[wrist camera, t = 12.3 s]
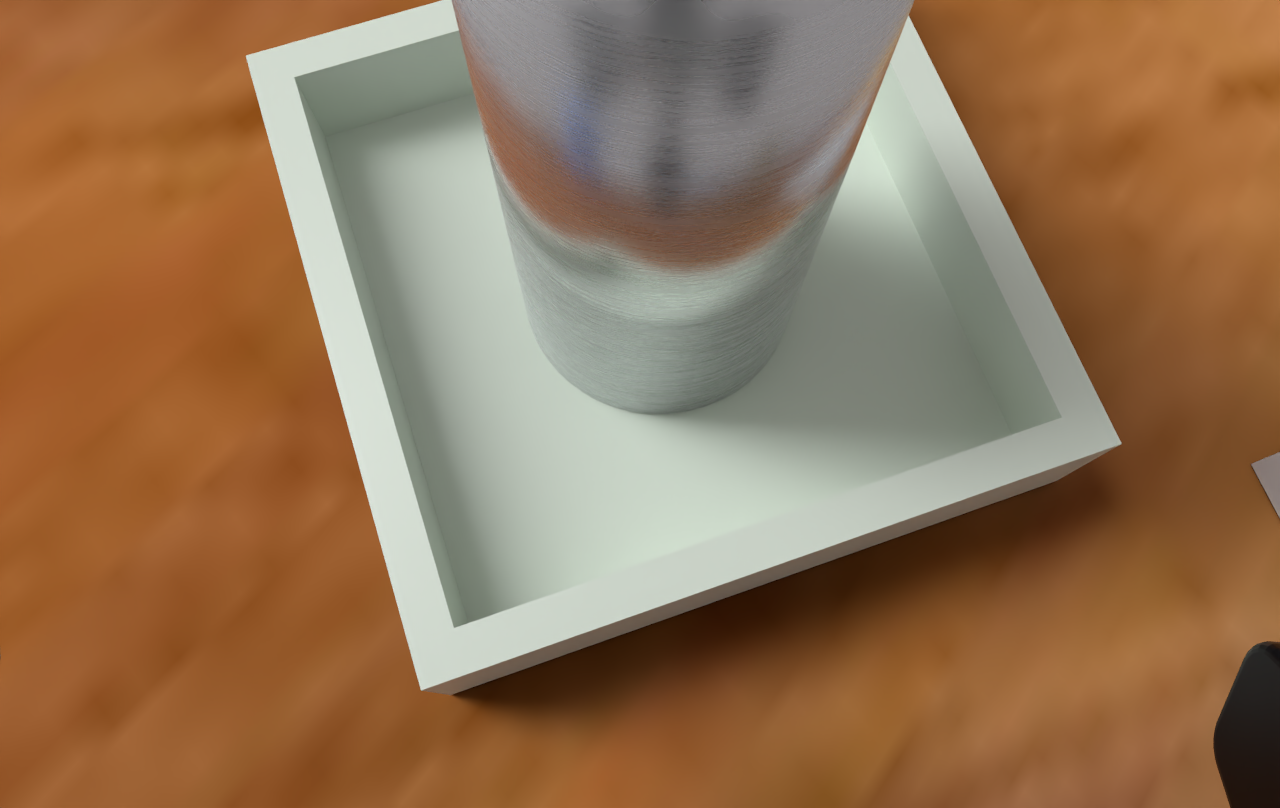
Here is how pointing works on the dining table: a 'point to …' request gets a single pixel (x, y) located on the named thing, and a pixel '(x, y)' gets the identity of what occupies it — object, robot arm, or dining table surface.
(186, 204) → the dining table surface
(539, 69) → the brushed metal cylinder
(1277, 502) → the grey bin
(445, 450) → the sage bin
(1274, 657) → the robot arm
